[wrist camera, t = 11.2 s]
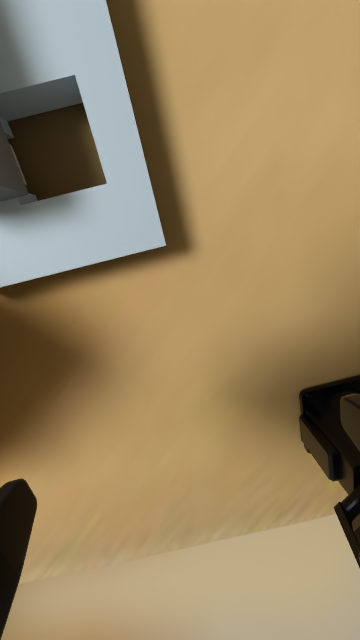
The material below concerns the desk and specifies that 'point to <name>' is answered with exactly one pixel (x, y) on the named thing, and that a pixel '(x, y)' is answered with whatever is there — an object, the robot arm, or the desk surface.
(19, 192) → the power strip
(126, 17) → the desk surface
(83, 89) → the keyhole board
